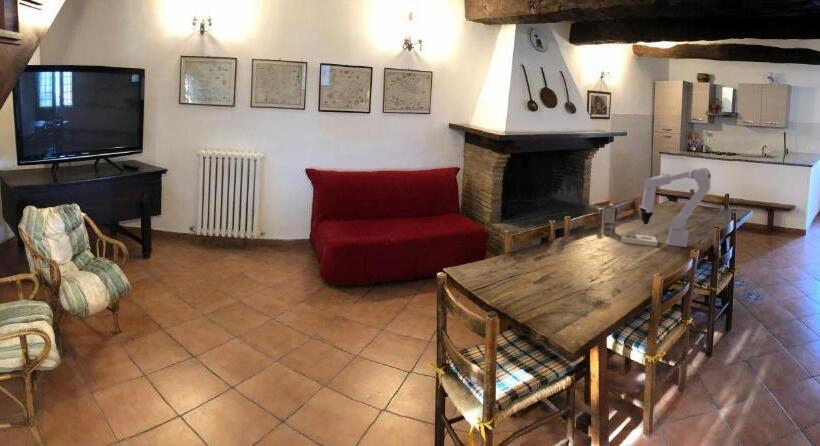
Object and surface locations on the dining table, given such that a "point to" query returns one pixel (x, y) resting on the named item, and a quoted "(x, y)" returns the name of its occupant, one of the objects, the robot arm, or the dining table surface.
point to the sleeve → (631, 233)
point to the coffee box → (608, 220)
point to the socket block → (639, 239)
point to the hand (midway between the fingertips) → (644, 222)
